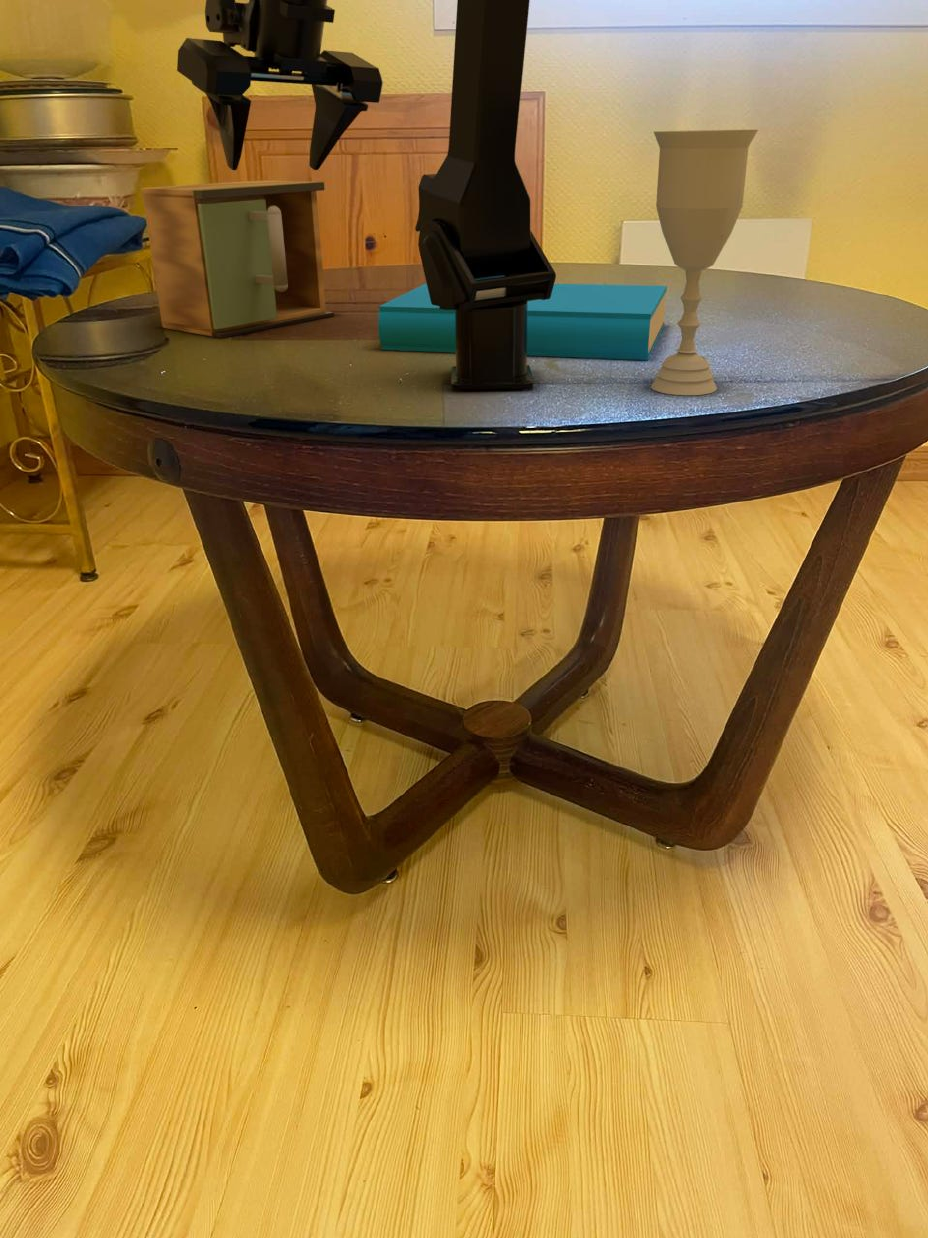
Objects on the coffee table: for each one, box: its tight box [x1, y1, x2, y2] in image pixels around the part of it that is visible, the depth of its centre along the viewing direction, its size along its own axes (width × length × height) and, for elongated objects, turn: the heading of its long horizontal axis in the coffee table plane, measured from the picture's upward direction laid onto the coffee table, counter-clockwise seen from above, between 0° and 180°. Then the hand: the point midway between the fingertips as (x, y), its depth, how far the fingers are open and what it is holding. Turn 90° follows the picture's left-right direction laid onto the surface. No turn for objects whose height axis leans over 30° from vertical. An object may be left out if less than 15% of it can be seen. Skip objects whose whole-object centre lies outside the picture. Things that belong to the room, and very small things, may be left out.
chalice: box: [650, 129, 759, 396], centre depth 72 cm, size 7×7×18 cm
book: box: [377, 283, 668, 361], centre depth 94 cm, size 17×4×25 cm
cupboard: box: [141, 179, 335, 339], centre depth 103 cm, size 10×16×14 cm, turn 140°
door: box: [198, 199, 288, 330], centre depth 96 cm, size 5×8×12 cm, turn 140°
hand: (274, 168), depth 94 cm, fingers open, 9 cm apart
